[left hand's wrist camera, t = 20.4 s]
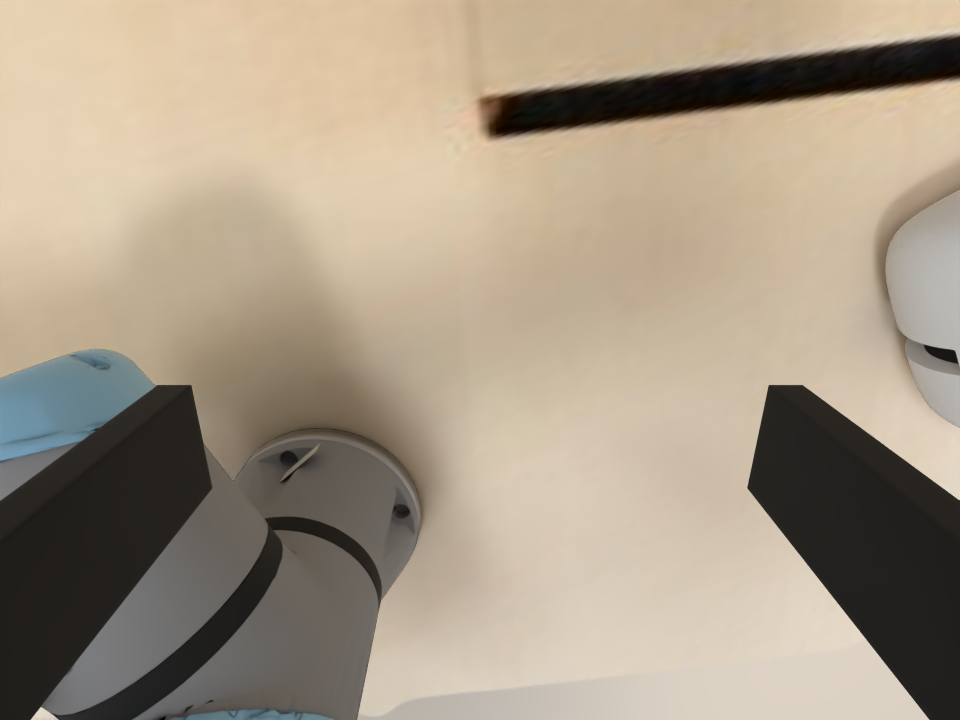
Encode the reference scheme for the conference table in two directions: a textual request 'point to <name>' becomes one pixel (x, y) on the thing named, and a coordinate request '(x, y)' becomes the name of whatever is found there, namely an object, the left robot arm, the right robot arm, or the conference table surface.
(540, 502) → the conference table surface
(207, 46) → the conference table surface
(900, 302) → the projector
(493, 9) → the conference table surface
